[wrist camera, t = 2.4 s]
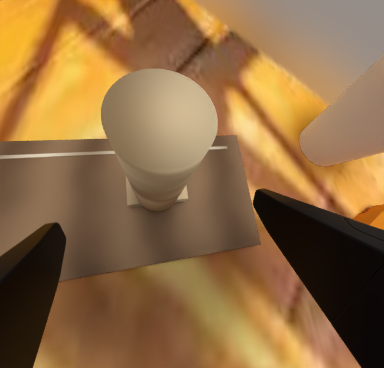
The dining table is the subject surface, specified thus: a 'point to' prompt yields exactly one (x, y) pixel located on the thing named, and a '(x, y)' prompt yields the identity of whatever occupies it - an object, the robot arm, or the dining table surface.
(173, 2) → the dining table surface
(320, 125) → the foam cup
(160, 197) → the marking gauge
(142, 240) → the walnut board
